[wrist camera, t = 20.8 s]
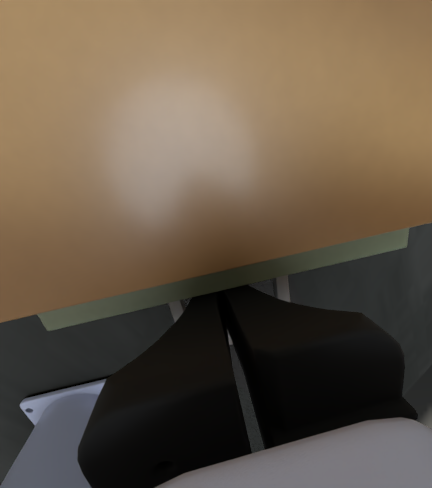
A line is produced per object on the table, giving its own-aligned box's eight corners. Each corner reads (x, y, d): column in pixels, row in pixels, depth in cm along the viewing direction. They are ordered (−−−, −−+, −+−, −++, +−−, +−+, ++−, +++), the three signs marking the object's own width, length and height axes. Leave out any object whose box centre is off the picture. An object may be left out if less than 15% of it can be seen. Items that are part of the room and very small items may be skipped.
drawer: (312, 272, 16) (394, 348, 9) (139, 313, 15) (102, 420, 9) (291, -154, 9) (570, -1027, 2) (-28, -95, 8) (-729, -908, 2)
